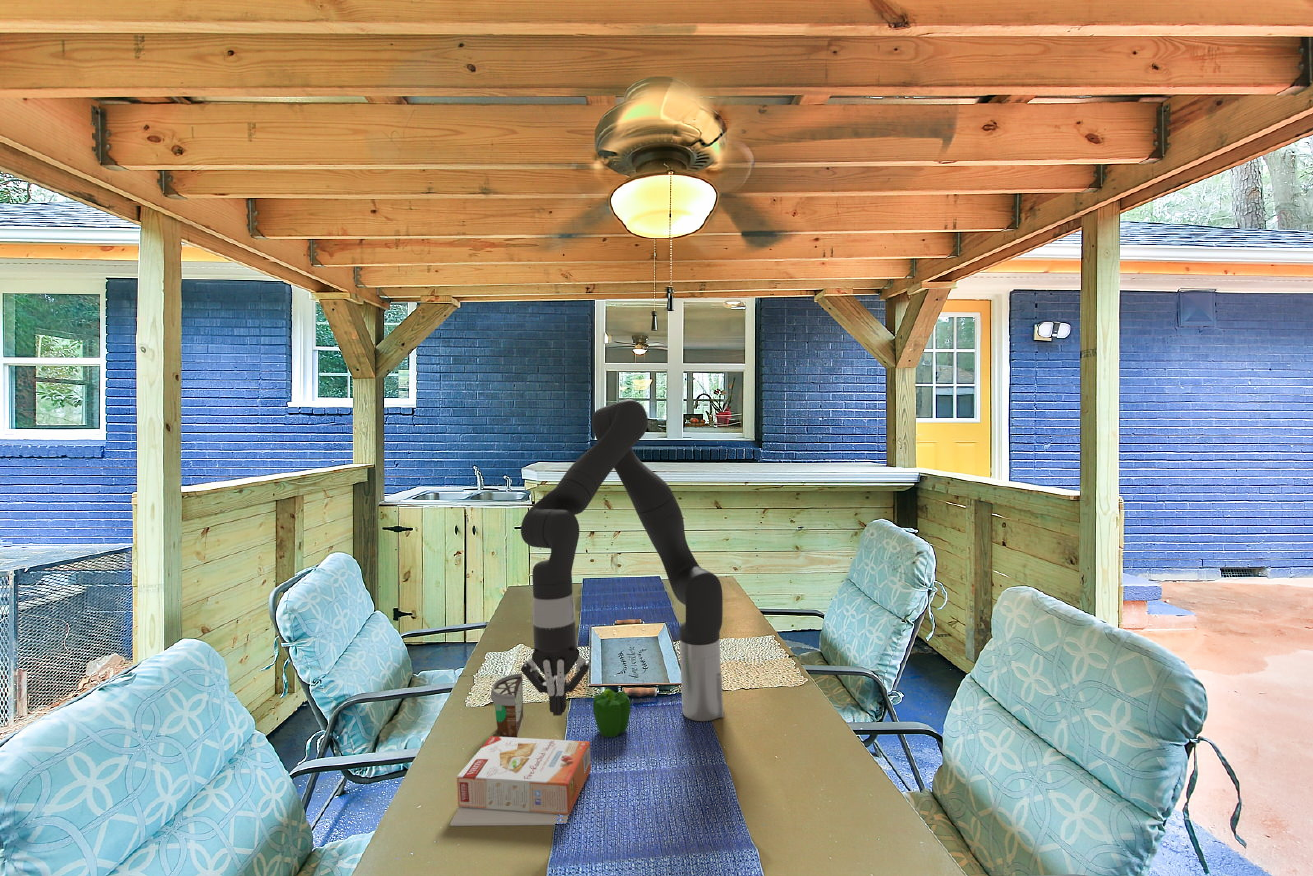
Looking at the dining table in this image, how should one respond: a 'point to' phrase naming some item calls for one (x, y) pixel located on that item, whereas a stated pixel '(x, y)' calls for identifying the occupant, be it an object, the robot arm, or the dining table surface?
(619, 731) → the bell pepper
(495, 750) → the cracker box
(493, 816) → the off-white mat
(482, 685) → the dining table surface
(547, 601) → the robot arm
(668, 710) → the dining table surface
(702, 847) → the dining table surface
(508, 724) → the food container
